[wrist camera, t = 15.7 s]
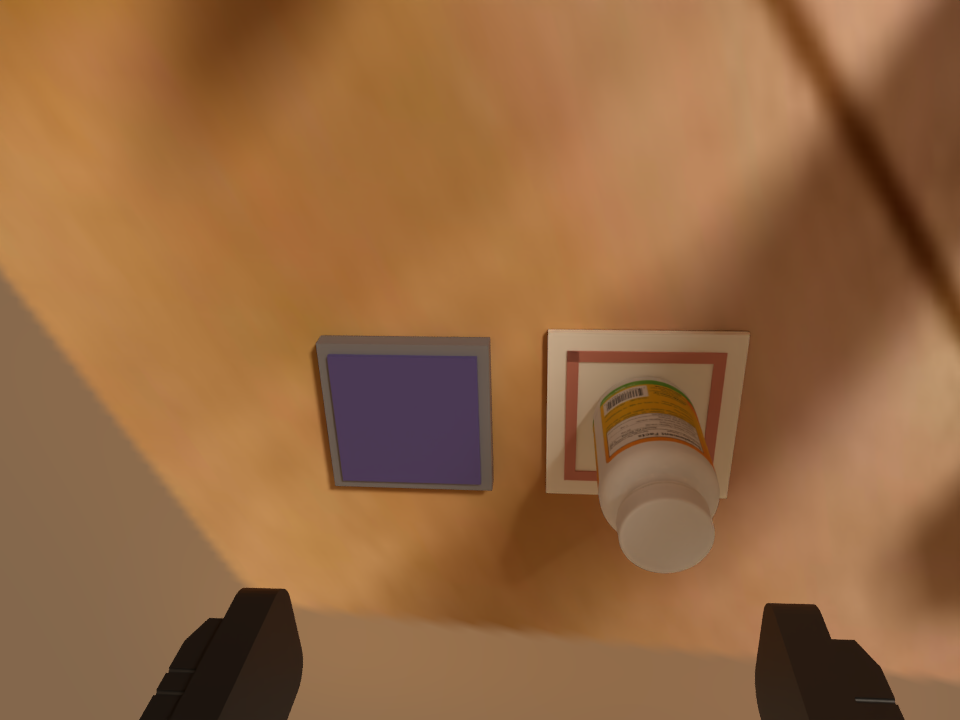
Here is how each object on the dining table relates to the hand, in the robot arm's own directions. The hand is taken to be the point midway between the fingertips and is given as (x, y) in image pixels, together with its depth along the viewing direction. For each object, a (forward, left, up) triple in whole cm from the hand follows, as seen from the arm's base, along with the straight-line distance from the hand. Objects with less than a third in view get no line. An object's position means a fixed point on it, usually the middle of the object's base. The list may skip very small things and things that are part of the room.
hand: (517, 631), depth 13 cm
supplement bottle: (-5, +11, -26) cm, 29 cm away
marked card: (-5, +11, -26) cm, 29 cm away
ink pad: (+7, +11, -26) cm, 30 cm away
